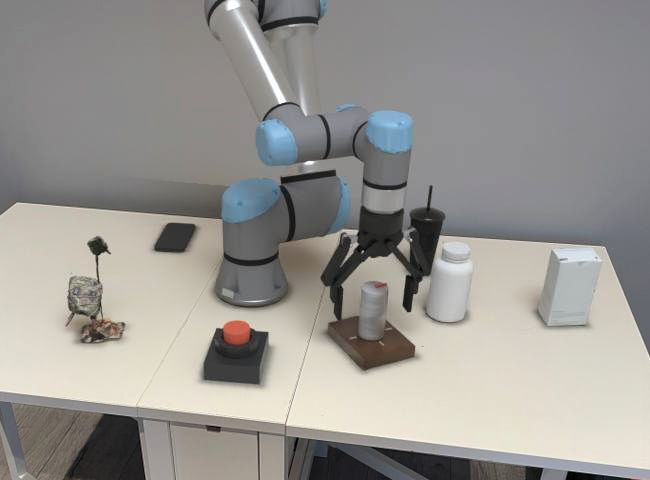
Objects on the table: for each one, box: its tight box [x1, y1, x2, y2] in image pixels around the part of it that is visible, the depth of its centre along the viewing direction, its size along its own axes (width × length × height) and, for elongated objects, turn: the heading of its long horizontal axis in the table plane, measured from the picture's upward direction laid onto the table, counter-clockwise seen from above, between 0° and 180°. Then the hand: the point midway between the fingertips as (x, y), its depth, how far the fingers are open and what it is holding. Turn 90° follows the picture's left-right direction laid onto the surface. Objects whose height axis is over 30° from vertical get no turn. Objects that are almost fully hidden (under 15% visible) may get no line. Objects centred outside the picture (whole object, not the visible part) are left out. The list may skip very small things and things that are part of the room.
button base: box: [203, 327, 270, 385], centre depth 139 cm, size 12×10×6 cm
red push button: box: [222, 319, 251, 345], centre depth 137 cm, size 5×5×2 cm
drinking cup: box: [409, 185, 446, 273], centre depth 167 cm, size 8×8×20 cm
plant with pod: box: [64, 235, 126, 343], centre depth 144 cm, size 8×11×20 cm
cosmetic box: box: [538, 246, 603, 327], centre depth 151 cm, size 8×6×15 cm
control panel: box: [327, 314, 416, 371], centre depth 146 cm, size 14×11×3 cm
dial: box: [358, 280, 390, 341], centre depth 142 cm, size 5×5×10 cm
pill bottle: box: [426, 241, 475, 323], centre depth 152 cm, size 8×8×15 cm
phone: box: [153, 222, 197, 253], centre depth 185 cm, size 7×1×15 cm
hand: (372, 312), depth 143 cm, fingers open, 13 cm apart
